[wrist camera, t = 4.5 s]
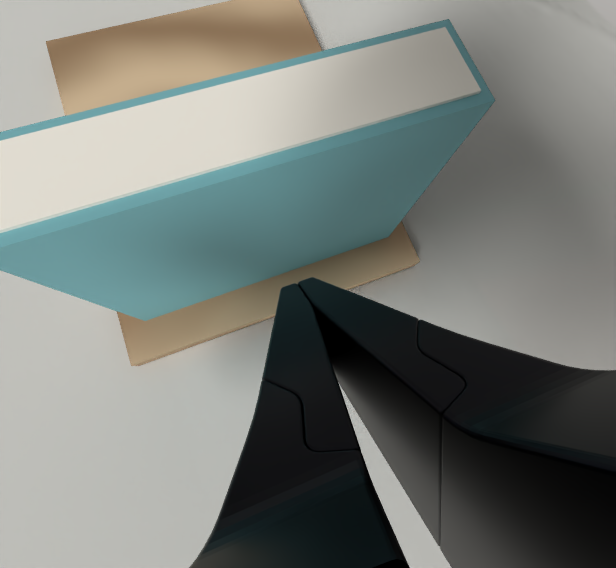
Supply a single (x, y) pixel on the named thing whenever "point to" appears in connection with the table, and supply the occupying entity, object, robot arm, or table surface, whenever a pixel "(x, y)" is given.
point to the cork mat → (188, 70)
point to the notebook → (235, 172)
